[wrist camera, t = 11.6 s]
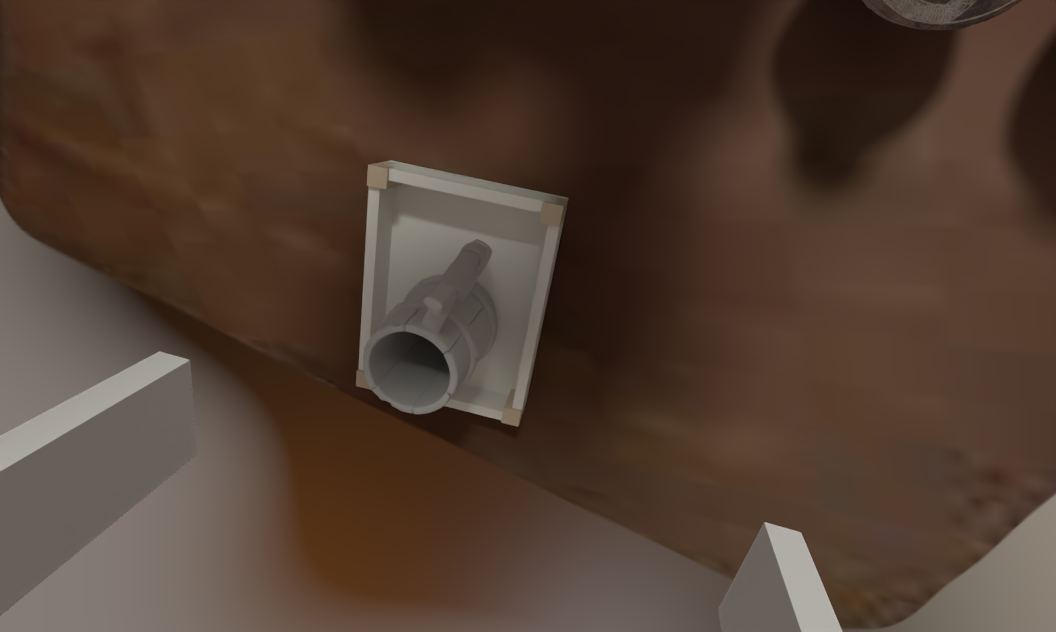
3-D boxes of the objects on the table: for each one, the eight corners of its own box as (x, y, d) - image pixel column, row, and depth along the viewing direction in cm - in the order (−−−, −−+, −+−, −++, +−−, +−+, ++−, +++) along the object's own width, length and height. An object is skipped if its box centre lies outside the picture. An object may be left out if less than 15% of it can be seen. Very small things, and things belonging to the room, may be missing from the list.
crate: (391, 160, 38) (368, 164, 35) (568, 197, 37) (563, 206, 34) (376, 365, 45) (355, 386, 42) (526, 402, 44) (518, 426, 40)
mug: (396, 331, 43) (318, 406, 32) (450, 204, 38) (380, 240, 27) (477, 374, 43) (428, 463, 32) (541, 252, 38) (509, 308, 27)
